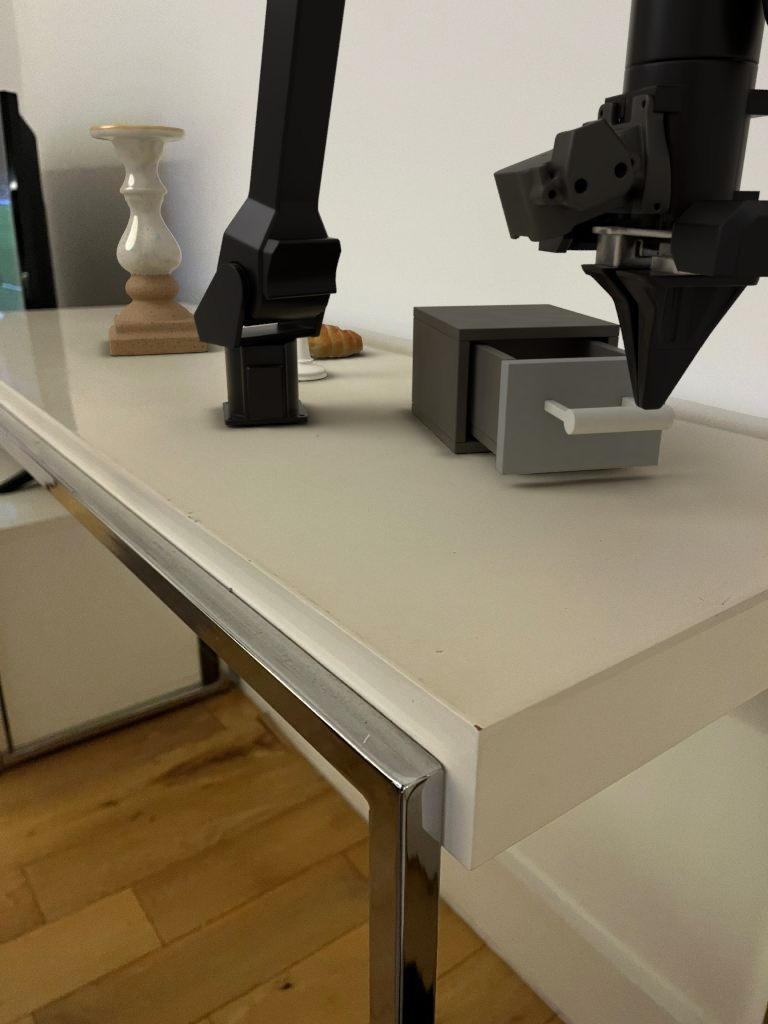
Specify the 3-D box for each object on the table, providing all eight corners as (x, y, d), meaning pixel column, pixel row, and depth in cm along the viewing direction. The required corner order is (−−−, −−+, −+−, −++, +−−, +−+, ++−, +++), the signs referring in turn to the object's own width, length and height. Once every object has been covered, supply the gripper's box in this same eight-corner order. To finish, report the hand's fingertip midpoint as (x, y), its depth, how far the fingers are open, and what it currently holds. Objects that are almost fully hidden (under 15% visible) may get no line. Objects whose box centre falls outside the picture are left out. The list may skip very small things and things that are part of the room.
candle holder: (110, 341, 102) (86, 130, 94) (199, 337, 105) (184, 133, 97) (110, 356, 92) (83, 122, 84) (208, 351, 96) (193, 125, 87)
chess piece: (333, 378, 81) (331, 274, 78) (285, 382, 80) (281, 275, 76) (318, 369, 86) (316, 270, 82) (272, 372, 84) (268, 271, 80)
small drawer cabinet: (607, 445, 60) (620, 324, 56) (454, 453, 57) (459, 329, 54) (541, 405, 71) (548, 303, 68) (411, 411, 69) (413, 306, 66)
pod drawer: (699, 489, 48) (716, 373, 45) (530, 501, 46) (539, 380, 43) (580, 421, 62) (588, 330, 60) (448, 427, 60) (451, 334, 58)
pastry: (358, 348, 98) (357, 316, 97) (367, 359, 92) (367, 324, 90) (279, 350, 96) (278, 317, 95) (283, 361, 90) (282, 326, 89)
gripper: (458, 89, 44) (448, 378, 49) (623, 18, 27) (580, 471, 32) (648, 95, 46) (618, 371, 52) (913, 34, 29) (826, 456, 35)
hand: (648, 408), depth 43 cm, fingers closed
